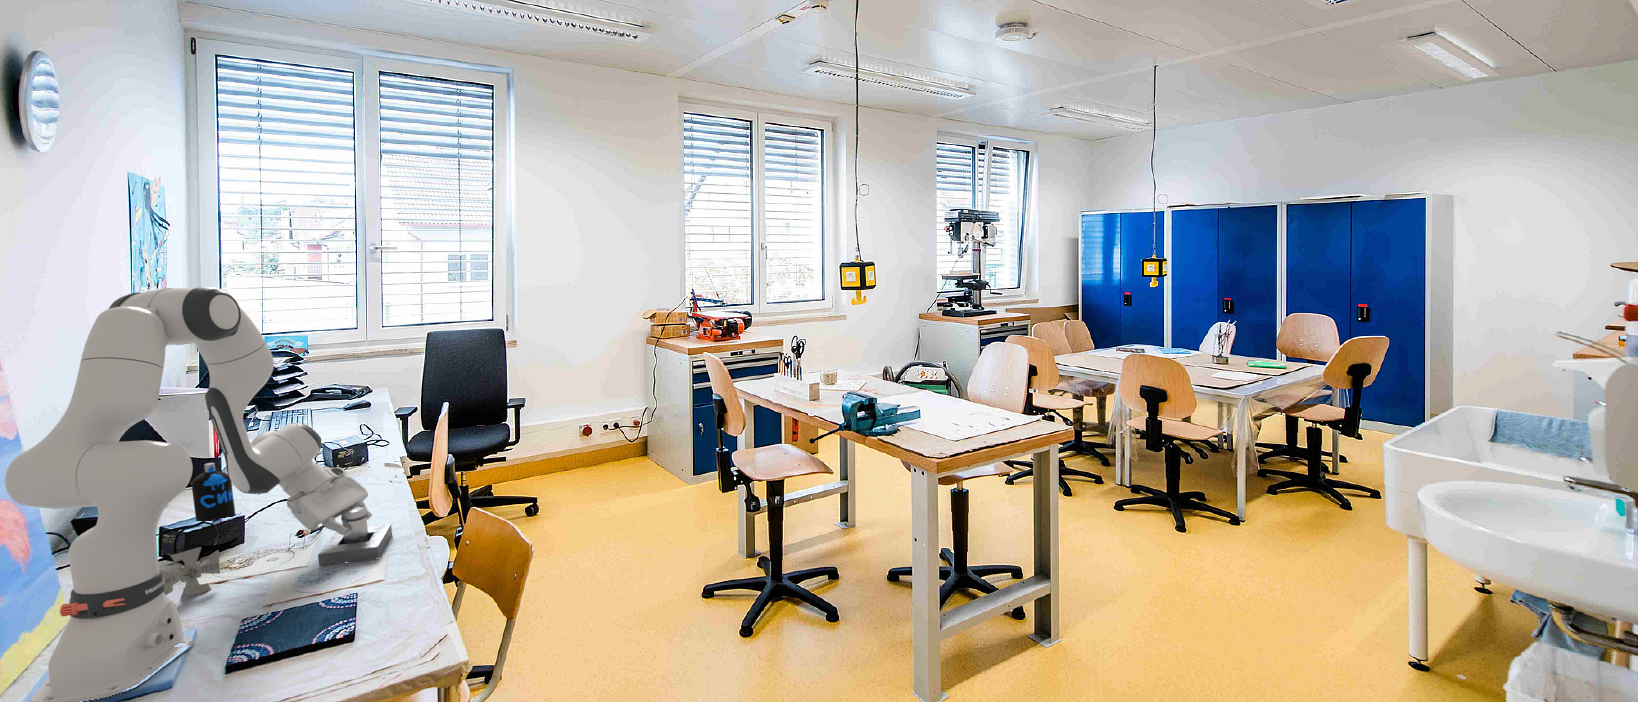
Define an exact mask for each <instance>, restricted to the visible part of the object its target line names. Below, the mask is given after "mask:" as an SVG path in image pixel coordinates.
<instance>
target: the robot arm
mask: <svg viewBox="0 0 1638 702" xmlns="http://www.w3.org/2000/svg"><path fill="white" fill-rule="evenodd" d="M190 344H195V346H196V348H197V350H198V352H199V354H200V356H201V357H202V360H203V361H204V363H205V364H206V366H207V369H208V373H209V374H208V375H209V387H208V389H207V391H206V393H205V396H204V399H205V400H204V401H205V405H206V408H207V412H208V415H209V418H210V420H211V423H212V427H213V429H214V431H215V434H216V437H217V440H218V443H219V445H220V449H221V451H222V454H223V456H224V460H225V465H226V473H227V474H228V476H229V478H230V480H231V482H232V486H234V487H235V488H236V489H238V490H239V491H240V492H242V493H243V494H249V495H262V494H263V495H264V494H268V493H269V492H270V491H271V490H273V489H274V488H275V487H276V486H278V485H279V486H280V487H281V488H282V490H283V492H284V493H286V494H287V495H288V496H289V497H288V498H286V499H287V501H286V506H287V508H288V509H290V512H291V514H292V515H293V516H294V518H296V520H297V521H299V522H300V524H301V525H302V526H303V527H304V528H305V529H307V530H310V531H315V530H317V529H319V528H321V527H322V526H323V527H325V528H326V529H328V530H332V531H333V532H338V533H339V534H340V535H343V534H345V533H346V532H347V531H348V530H349V527H348V526H347V525H345V524H342V523H340V522H338V521H336V519H337V518H338V517H341V512H342V511H344V510H346V509H350V508H356V507H364V508H366V513H367V516H366V518H367V521H368V520H369V519H370V518H371V517H372V516H373V514H372V512H370V511H369V510H368V508H367V506H366V504H365V502H364V501H365V500H366V499H367V498H368V496H369V493H368V490H367V489H366V488H365V487H364V486H363V485H361V483H360V482H358V481H357V480H356V479H355V478H353V477H352V476H349V475H346V474H347V471H346V470H345V469H344V468H343V467H322V466H321V465H319V464H318V463H316V462H314V460H313V459H314V458H316V456H318V454H319V453H320V452H321V448H322V438H321V436H320V434H318V432H317V431H316V430H314V429H313V428H312V427H311V426H309V425H307V424H304V423H298V422H291V423H288V424H287V425H284V426H283V427H281V428H279V429H278V430H268V431H265V432H263V433H260V434H259V435H257V437H255V438H254V439H253V440H252V441H250V437H249V435H248V432H247V428H246V426H245V423H244V414H245V411H246V409H247V406H248V405H249V403H250V402H251V401H252V399H253V398H254V397H255V395H257V393H258V392H259V391H260V390H262V389H263V387H264V386H265V385H266V383H267V382H268V381H269V379H270V378H271V376H272V374H273V370H274V369H275V368H274V367H275V361H274V357H273V353H272V352H271V349H270V347H269V345H268V344H267V342H266V340H265V338H264V337H263V335H262V334H261V332H260V330H259V329H258V328H257V326H256V324H255V323H254V321H253V320H252V318H250V316H249V315H248V314H247V313H246V312H245V311H244V310H243V309H242V308H241V307H240V305H239V303H238V302H237V300H236V299H235V298H234V297H233V296H232V295H231V294H230V293H228V292H227V291H226V290H224V289H221V288H218V287H212V286H196V287H183V288H182V287H180V288H179V287H177V288H173V287H167V288H159V289H153V290H147V291H144V292H139V291H137V292H132V293H129V294H126V295H123V296H121V297H119V298H117V299H115V300H114V301H113V302H112V303H111V305H109V307H108V309H106V310H104V311H102V312H101V313H99V314H98V316H97V317H96V318H95V321H94V323H93V325H92V327H91V329H90V331H89V333H88V336H87V338H86V341H85V344H84V348H83V351H82V352H81V353H82V354H81V357H80V362H79V368H78V372H77V376H76V380H75V385H74V388H73V391H72V396H71V399H70V401H69V403H68V406H67V408H66V409H65V412H64V413H63V415H62V416H61V418H60V420H58V421H57V424H56V425H55V426H54V428H53V429H51V431H49V433H48V434H47V435H46V436H45V437H44V438H43V439H42V440H40V441H39V442H38V443H36V444H35V445H34V446H32V447H31V448H29V449H27V450H25V451H24V452H22V453H20V454H19V455H17V456H15V458H14V459H13V460H12V462H11V463H10V464H9V465H8V468H7V469H6V472H5V475H4V486H5V489H6V492H7V494H8V495H9V496H10V498H11V499H12V500H13V501H14V502H15V503H17V504H19V505H22V506H28V507H34V508H41V509H42V508H43V509H51V510H53V509H54V510H55V509H56V510H60V509H72V508H75V509H77V508H91V507H96V508H97V514H98V515H97V521H96V524H95V526H93V527H91V528H89V529H87V530H86V531H85V532H83V533H81V534H80V535H79V536H77V537H76V538H75V539H74V541H73V542H72V543H71V545H70V547H69V549H68V552H67V554H68V561H69V562H68V563H69V567H70V568H69V570H70V573H71V580H72V581H71V582H72V590H70V598H69V600H68V603H63V604H61V606H60V607H59V608H60V609H59V614H60V616H61V617H67V616H68V617H69V616H70V618H69V620H68V623H67V624H66V627H65V628H64V630H63V632H62V633H61V635H60V638H59V640H58V642H57V644H56V646H55V648H54V650H53V652H52V654H51V656H50V657H49V660H48V677H47V678H46V679H45V681H44V682H43V683H42V684H41V686H40V687H39V689H37V691H36V692H35V693H34V695H33V696H32V698H30V702H80V701H87V700H91V699H97V700H100V698H102V699H105V697H106V698H109V696H110V697H113V696H112V695H114V696H116V695H115V694H117V693H120V692H122V691H123V690H126V689H127V688H131V687H132V686H134V685H136V684H139V682H141V680H143V679H145V678H146V677H147V676H148V675H151V674H152V673H153V672H154V671H156V670H158V668H159V667H160V666H162V665H163V664H164V663H165V662H166V661H168V660H169V659H170V658H171V657H173V656H174V655H175V654H176V653H177V652H178V651H179V650H180V649H181V648H183V647H185V646H187V645H189V646H190V648H192V647H193V646H194V644H195V642H194V639H192V638H190V637H185V635H184V632H183V627H182V623H181V619H180V614H179V610H178V605H177V603H176V602H175V601H173V600H171V599H170V598H169V597H168V595H165V594H164V592H163V591H164V590H165V579H164V576H163V572H162V571H163V570H162V569H160V567H159V560H158V559H159V558H158V546H157V544H158V543H157V531H158V530H157V528H158V524H159V521H160V518H161V516H162V514H163V512H164V510H165V509H166V507H167V505H169V503H170V502H171V501H172V500H173V499H175V498H176V497H178V496H179V495H180V494H181V493H182V492H183V491H184V490H185V489H186V487H187V486H188V485H189V484H190V481H191V478H192V476H193V472H194V471H193V470H194V468H193V467H194V466H193V461H192V458H191V456H190V454H189V453H188V451H186V449H185V448H184V447H183V446H181V445H179V444H177V443H172V442H171V443H170V442H166V441H165V442H164V441H157V440H146V439H145V440H129V441H127V440H126V441H120V439H121V438H122V437H123V435H124V434H125V433H126V432H127V431H128V430H129V429H130V428H131V427H133V426H134V425H136V424H137V423H139V422H141V421H143V420H145V419H147V418H149V417H150V416H151V415H152V414H153V413H154V411H155V410H156V408H157V407H158V402H159V396H160V392H161V386H162V380H163V375H164V366H165V359H166V347H167V346H169V345H170V346H172V345H175V346H180V345H190ZM179 643H186V644H185V645H183V646H180V647H174V646H175V645H177V644H179ZM120 694H121V693H120ZM117 695H118V694H117ZM103 697H104V698H103ZM87 702H88V701H87Z"/></svg>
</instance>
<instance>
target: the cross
mask: <svg viewBox="0 0 1638 702" xmlns="http://www.w3.org/2000/svg"><path fill="white" fill-rule="evenodd" d="M201 550H202V546H198V547H195V548H192V549H188V550H184V551H182V552H178V553H175V554H171V555H170V558H171V559H172V560H173V561H174V563H176V562H179V561H182V562H183V563H184V565H182V566H180V567H179V571H178V570H177V571H175V570H174V571H170V570H169V571H168V570H166V571H163V570H162V572H163V576H164V579H165V590H164V591H163V592H164V594H165V595H166V596H168V595H169V594H171V593H172V592H173V590H174V588H173V586H174V585H176V584H177V583H178V582H179V583H180V582H182V583H185V586H184V588H183V591H182V594H181V595H180V599H179V600H184V599H186V598H190V597H192V596H195V595H198V594H201V593H204V592H205V593H206V592H207V591H211V590H212V587H211V586H210V585H209V583H204V584H200V582H199V581H198V579H199V578H201V577H202V574H217V575H219V574H220V573H221V565H220V551H219V549H217V550H216V551H214V552H212V553H210V555H209V557H210V560H208V561H207V562H205V563H204V564H201V562H199V561H198V560H199V556H200V553H201Z"/></svg>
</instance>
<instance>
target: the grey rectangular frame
mask: <svg viewBox="0 0 1638 702" xmlns="http://www.w3.org/2000/svg"><path fill="white" fill-rule="evenodd" d="M367 529H368V539H369V541H367V542H359V543H351V544H344V536H343V535H340V534H339V533H338V532H336V531H334V533H333V534H332V536H331V537H330V539H329V540H328V541H327V542H326V543H325V545H324V546H323V547H322V549H321V550H320V551H319V553H317V557H318V567H319V566H322V567H328V566H327V565H330V566H335V564H337V565H341V564H340V563H345V562H352V563H358V562H365V561H373V560H372V559H374V560H377V559H376V558H378V557H380V558H381V556H382V554H383V553H384V550H385V548H386V547H387V545H388V543H389V542H390V540H391V538H392V536H393V527H392V524H391V523H390V524H389V523H388V524H381V525H372V526H367ZM380 555H381V556H380ZM345 564H346V563H345Z"/></svg>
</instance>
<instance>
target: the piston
mask: <svg viewBox="0 0 1638 702" xmlns="http://www.w3.org/2000/svg"><path fill="white" fill-rule="evenodd" d="M366 508H367V507H366ZM366 508H364V507H356V508H350V509H346V510H344V511H342V512H341V515H340V520H341V524H345V525H347V526H348V527H349V530H348V531H347V532H346V533H345V534H343V536H344V544H351V543H359V542H367V541H369V539H368V529H367V527H368V520H367V518H366V516H367V513H366Z"/></svg>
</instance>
